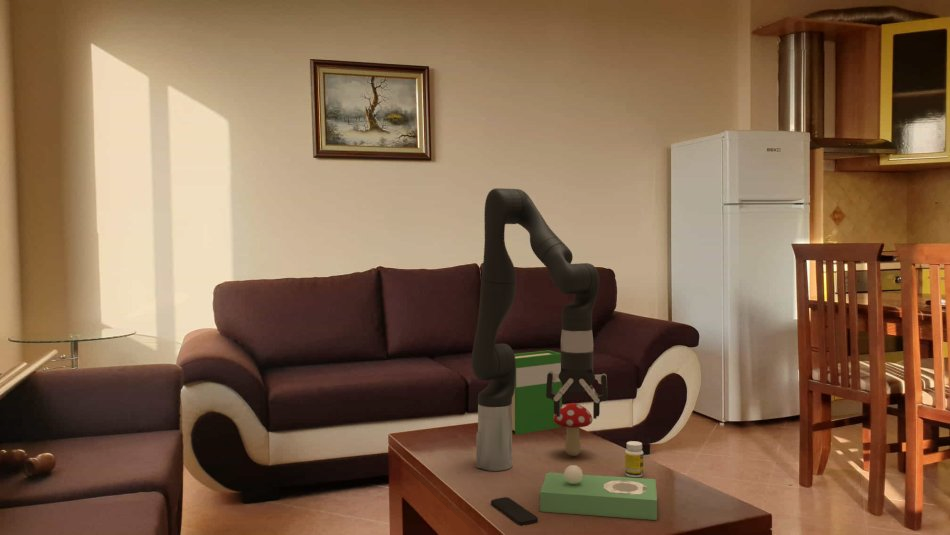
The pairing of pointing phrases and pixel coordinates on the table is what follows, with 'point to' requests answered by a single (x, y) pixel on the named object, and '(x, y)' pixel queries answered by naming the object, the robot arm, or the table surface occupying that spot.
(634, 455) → the supplement bottle
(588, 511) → the green flat block
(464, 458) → the table surface
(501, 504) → the remote control
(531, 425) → the hardback book
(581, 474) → the ball
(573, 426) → the decorative mushroom
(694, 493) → the table surface
